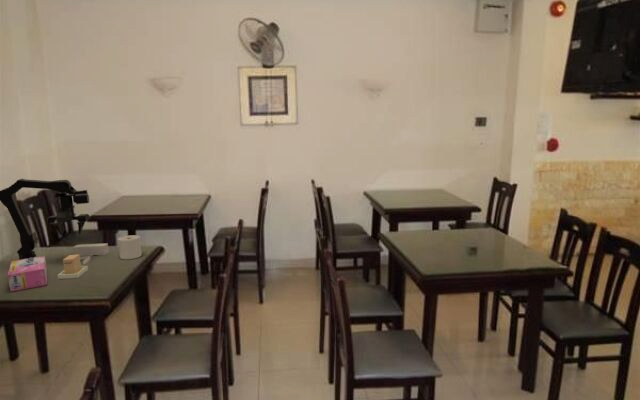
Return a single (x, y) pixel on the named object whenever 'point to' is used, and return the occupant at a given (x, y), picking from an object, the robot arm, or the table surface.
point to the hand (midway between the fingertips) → (70, 234)
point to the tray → (69, 276)
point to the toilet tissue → (129, 247)
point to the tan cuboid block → (72, 264)
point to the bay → (90, 250)
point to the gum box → (27, 273)
